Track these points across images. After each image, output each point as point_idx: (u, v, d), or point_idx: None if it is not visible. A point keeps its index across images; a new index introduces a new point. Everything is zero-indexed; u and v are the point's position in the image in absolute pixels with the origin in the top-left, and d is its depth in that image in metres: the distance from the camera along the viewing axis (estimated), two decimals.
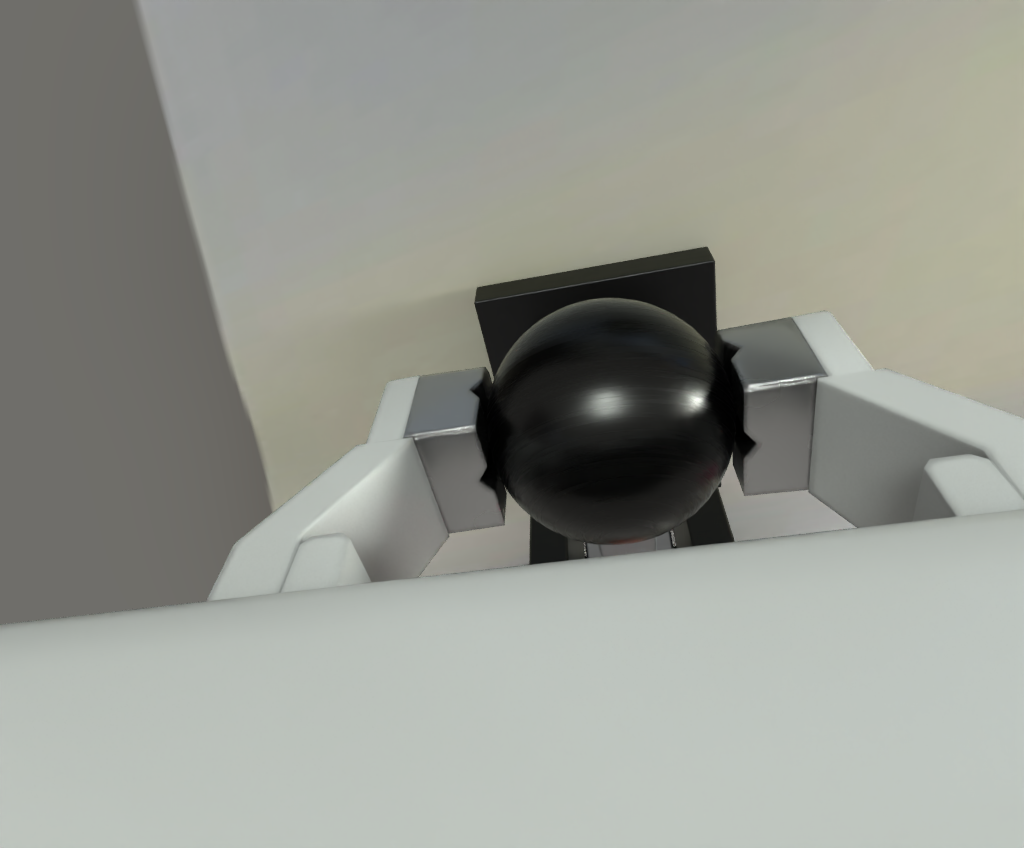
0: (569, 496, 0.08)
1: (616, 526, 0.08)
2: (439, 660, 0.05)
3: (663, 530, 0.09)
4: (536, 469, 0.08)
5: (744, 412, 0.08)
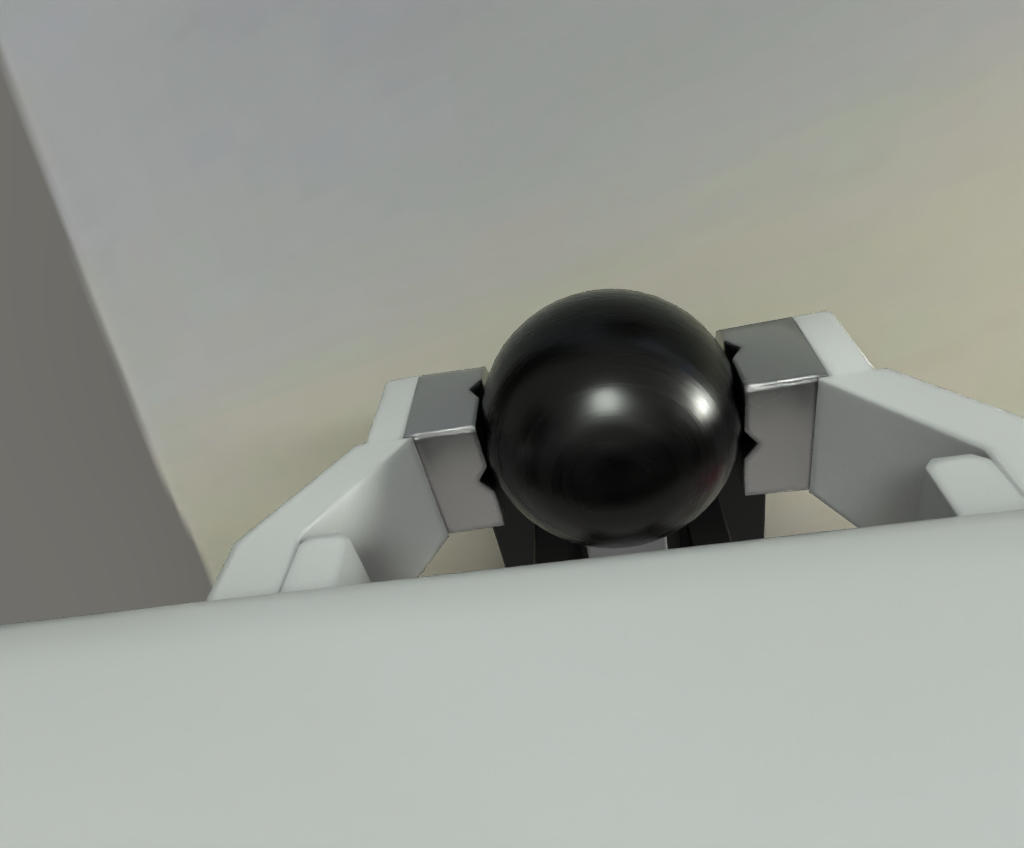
0: (554, 416, 0.07)
1: (606, 459, 0.07)
2: (439, 660, 0.05)
3: (663, 487, 0.07)
4: (522, 395, 0.08)
5: (745, 412, 0.08)
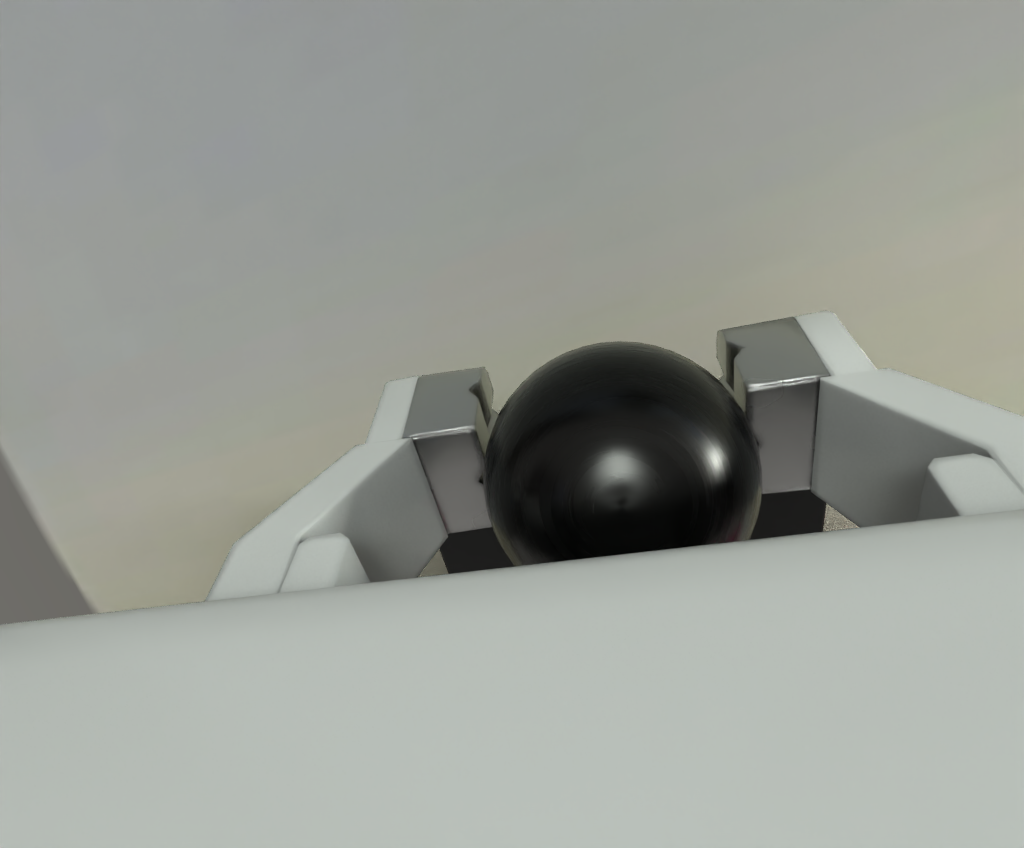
0: (557, 430, 0.07)
1: (611, 472, 0.07)
2: (439, 660, 0.05)
3: (674, 511, 0.07)
4: (526, 417, 0.07)
5: (747, 412, 0.08)
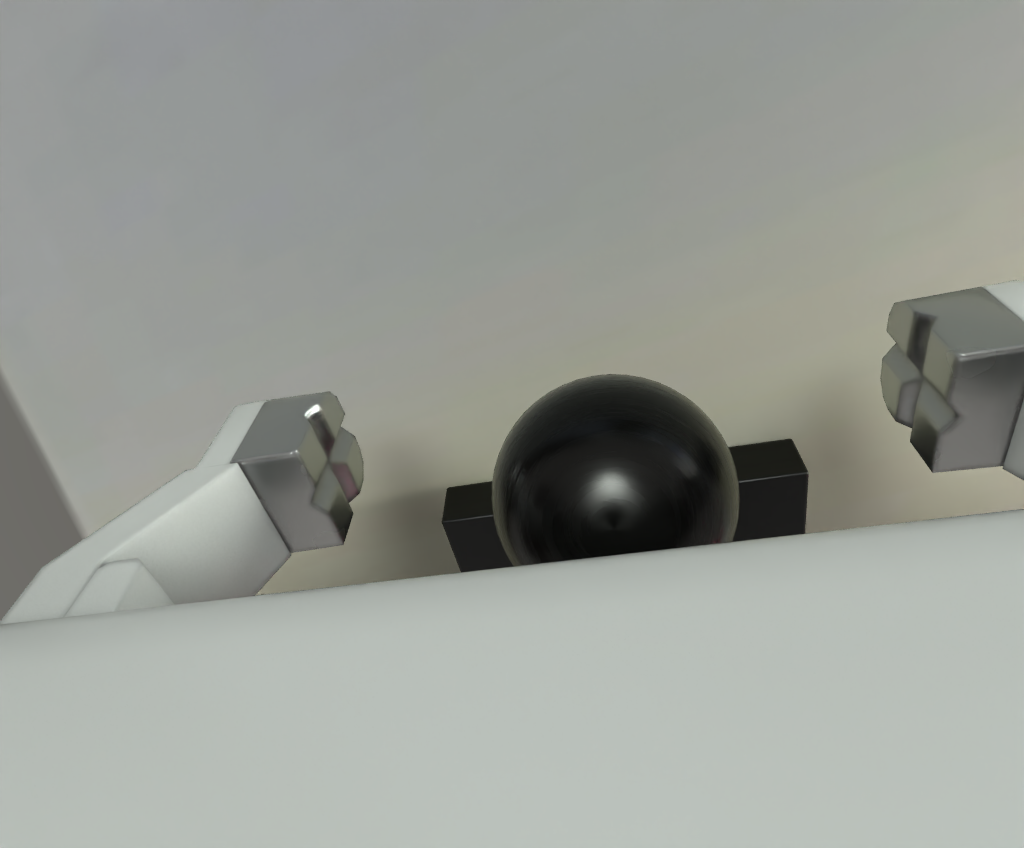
0: (556, 461, 0.08)
1: (603, 498, 0.08)
2: (439, 660, 0.05)
3: (659, 530, 0.08)
4: (528, 448, 0.08)
5: (952, 383, 0.08)
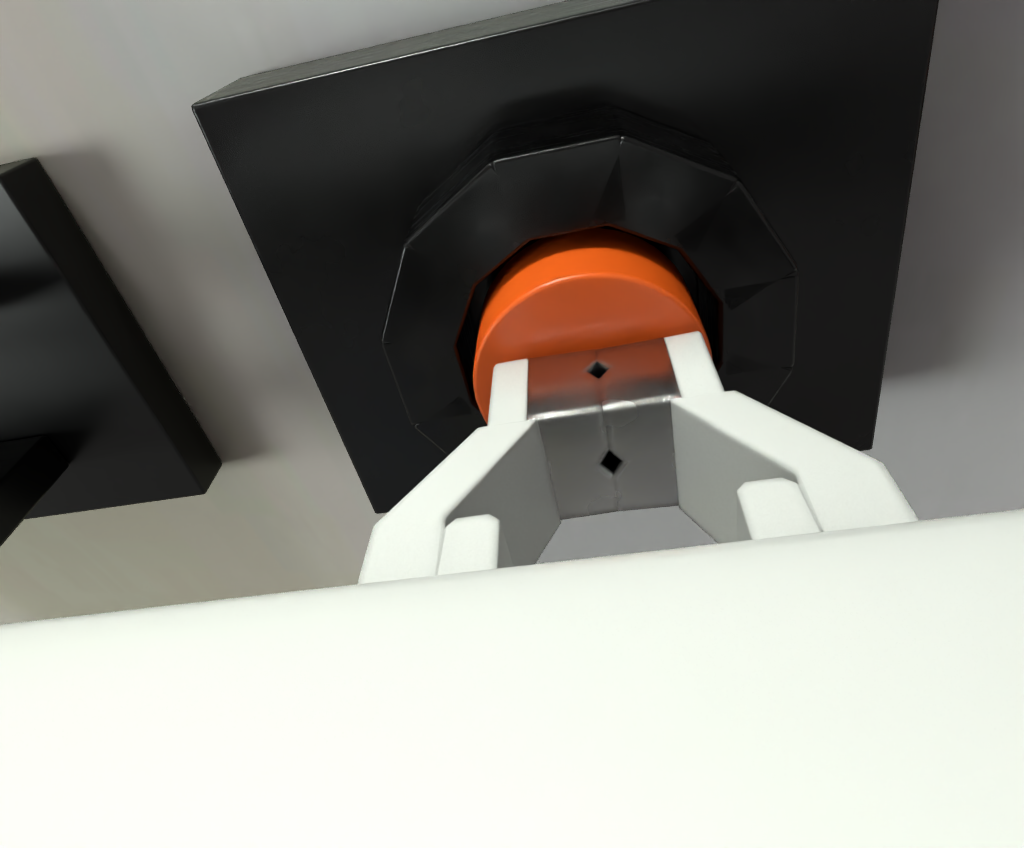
0: None
1: None
2: (439, 660, 0.05)
3: None
4: None
5: (606, 431, 0.08)
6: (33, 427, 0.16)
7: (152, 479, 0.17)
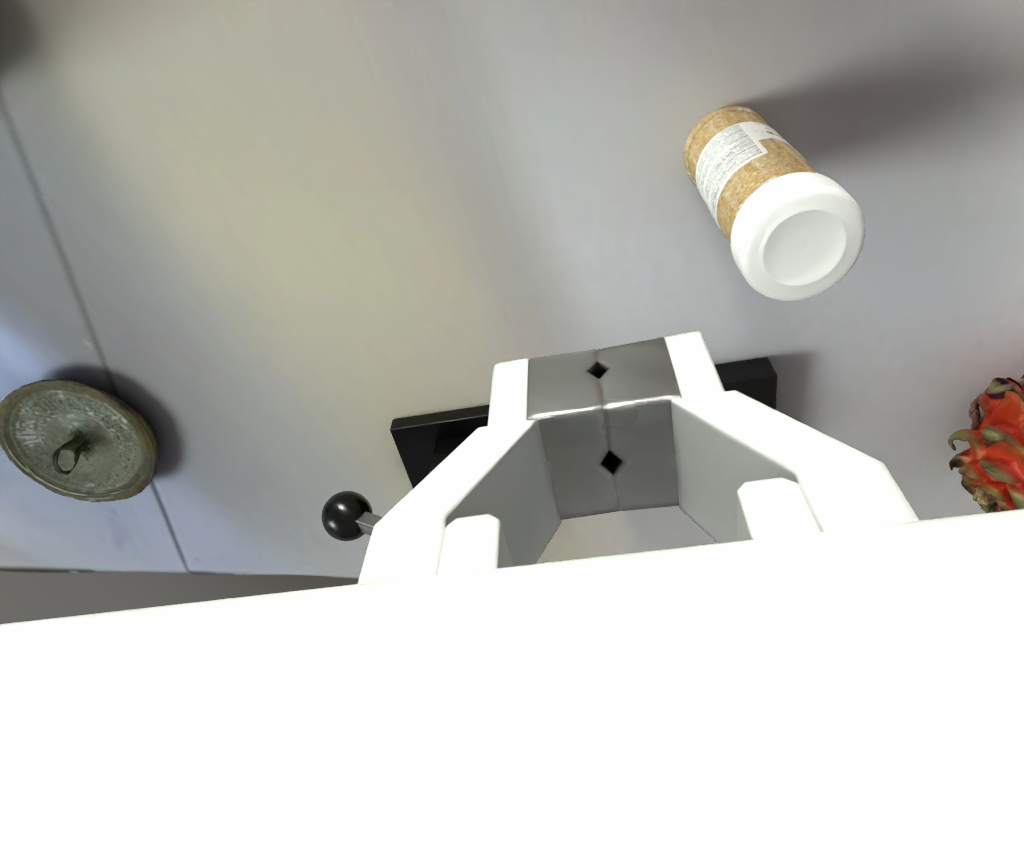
0: None
1: (327, 531, 0.45)
2: (439, 660, 0.05)
3: (329, 527, 0.45)
4: None
5: (607, 432, 0.08)
6: None
7: None
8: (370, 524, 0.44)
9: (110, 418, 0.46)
